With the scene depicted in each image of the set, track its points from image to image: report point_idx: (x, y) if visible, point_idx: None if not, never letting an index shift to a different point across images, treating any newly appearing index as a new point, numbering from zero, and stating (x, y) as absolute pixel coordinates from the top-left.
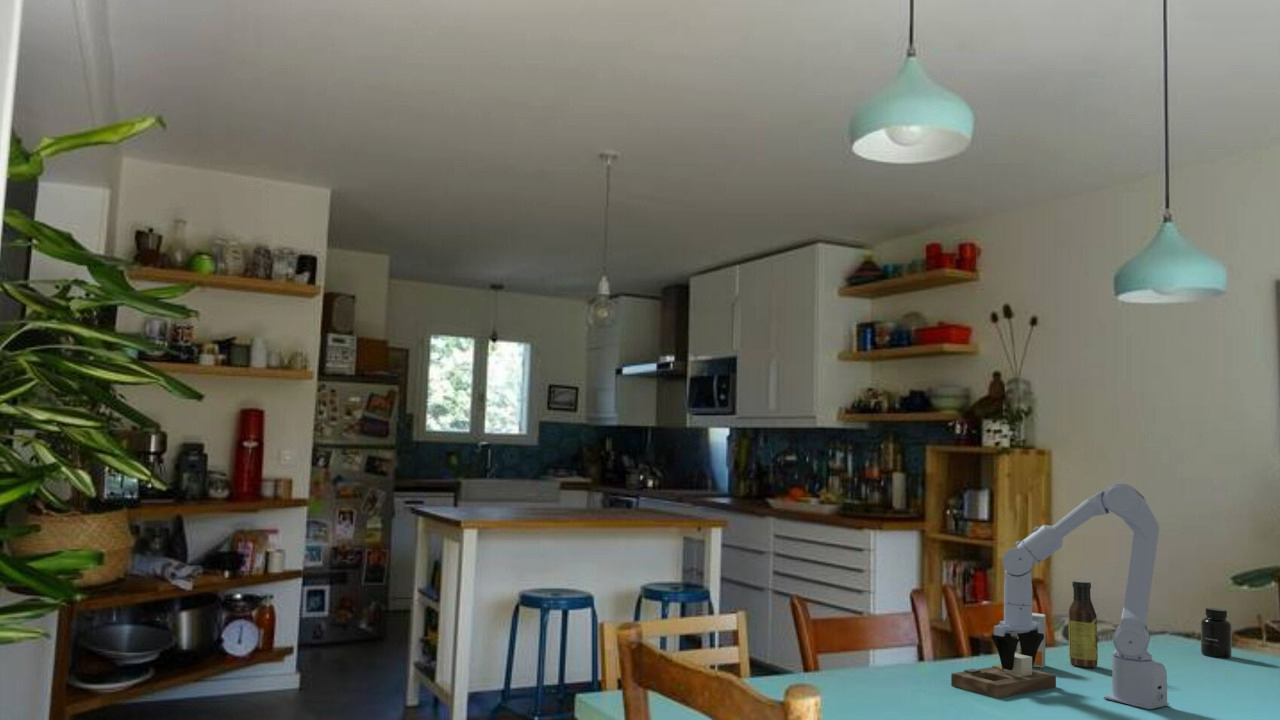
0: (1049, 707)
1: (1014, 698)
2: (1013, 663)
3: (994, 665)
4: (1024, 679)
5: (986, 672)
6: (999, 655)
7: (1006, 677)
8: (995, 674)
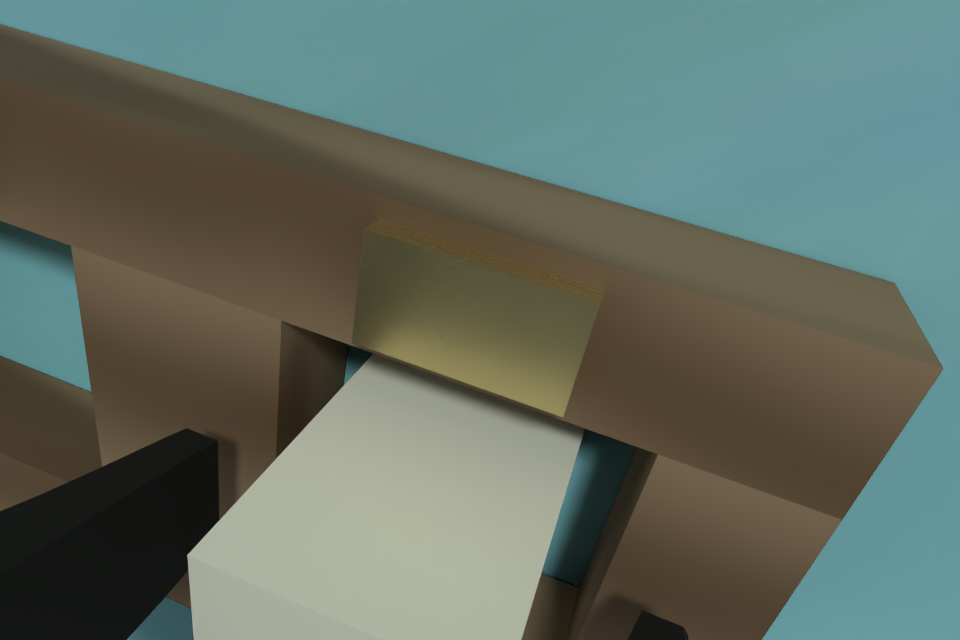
0: None
1: None
2: (151, 601)
3: (407, 250)
4: (182, 588)
5: (72, 251)
6: (4, 513)
7: (102, 459)
8: (88, 356)
